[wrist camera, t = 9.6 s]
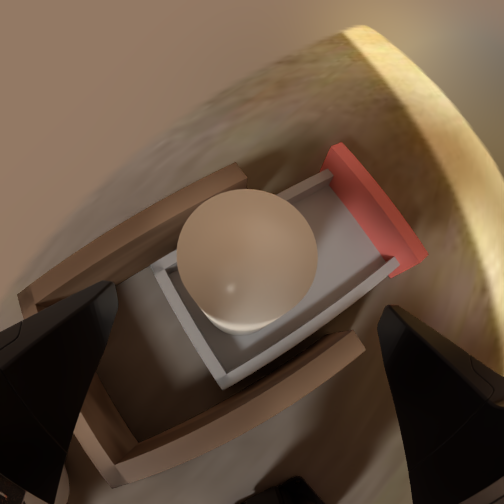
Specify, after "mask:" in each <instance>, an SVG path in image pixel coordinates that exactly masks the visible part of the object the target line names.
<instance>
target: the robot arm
mask: <svg viewBox="0 0 504 504" xmlns="http://www.w3.org/2000/svg"><path fill="white" fill-rule="evenodd" d="M117 310H118V299H117V293H116V288H115V284H114V283H113V282H112V281H106V280H102V281H99V282H97V283H95V284H93V285H91V286H89V287H87V288H85V289H83V290H81V291H79V292H77V293H75V294H73V295H71V296H69V297H67V298H65V299H63V300H61V301H59V302H57V303H55V304H53V305H51V306H49V307H47V308H45V309H43V310H41V311H40V312H38V313H36V314H34V315H32V316H30V317H28V318H26V319H24V320H23V321H20V322H19V323H17V324H15V325H13V326H11V327H9V328H7V329H5V330H3V331H1V332H0V504H26V503H25V501H24V499H25V495H26V492H28V493H30V494H32V495H33V496H35V497H37V498H39V499H40V500H42V501H44V502H46V503H48V504H54V503H55V499H56V495H57V490H58V486H59V482H60V478H61V474H62V470H63V467H64V463H65V459H66V456H67V453H66V452H68V448H69V445H70V442H71V439H72V435H73V432H74V429H75V426H76V423H77V420H78V417H79V414H80V411H81V409H82V406H83V403H84V400H85V397H86V395H87V392H88V389H89V387H90V384H91V382H92V379H93V377H94V374H95V371H96V369H97V367H98V364H99V362H100V359H101V357H102V354H103V352H104V350H105V347H106V344H107V341H108V338H109V335H110V331H111V328H112V325H113V322H114V319H115V316H116V313H117ZM377 330H378V336H379V341H380V346H381V351H382V357H383V362H384V367H385V371H386V375H387V378H388V382H389V386H390V389H391V393H392V397H393V401H394V405H395V409H396V413H397V417H398V422H399V426H400V431H401V435H402V440H403V445H404V450H405V455H406V461H407V466H408V471H409V479H410V485H411V492H412V500H413V504H504V377H503V376H501V375H499V374H498V373H496V372H495V371H493V370H492V369H490V368H488V367H487V366H486V365H484V364H483V363H481V362H480V361H478V360H477V359H475V358H474V357H473V356H471V355H469V354H468V353H467V352H466V351H464V350H463V349H461V348H460V347H458V346H457V345H456V344H454V343H453V342H451V341H450V340H448V339H447V338H445V337H444V336H443V335H441V334H440V333H438V332H437V331H435V330H434V329H432V328H431V327H429V326H428V325H426V324H425V323H423V322H422V321H421V320H419V319H418V318H416V317H415V316H413V315H412V314H410V313H409V312H407V311H406V310H404V309H403V308H401V307H399V306H398V305H387V306H386V307H385V308H384V311H383V313H382V316H381V318H380V320H379V323H378V327H377ZM296 481H300V482H299V483H297V484H296V483H295V482H296ZM242 504H325V503H324V502H323V501H322V500H321V499H320V498H319V497H318V495H317V494H316V493H315V492H314V491H313V490H312V489H311V487H310V486H309V485H308V484H307V483H306V482H305V480H304V479H303V478H302V477H300V476H295V477H293V478H291V479H289V480H288V481H286V482H284V483H282V484H280V485H279V486H277V487H272V488H270V489H268V490H266V491H264V492H262V493H260V494H258V495H256V496H254V497H251V498H249V499H247V500H246V502H244V503H242Z"/></svg>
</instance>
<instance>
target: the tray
mask: <svg viewBox="0 0 504 504" xmlns="http://www.w3.org/2000/svg"><path fill="white" fill-rule="evenodd" d="M276 196H278V197H280V198H282V199H284V200H286V201H287V202H289V203H290V204H291V205H293V206H294V207H295V208H296V209H297V210H298V211H299V212H300V213H301V214H302V215H303V217H304V218H305V219H306V221H307V222H308V224H309V226H310V228H311V230H312V232H313V234H314V237H315V240H316V245H317V251H318V263H317V270H316V274H315V277H314V280H313V283H312V285H311V287H310V289H309V290H308V292H307V294H306V295H305V296H304V297H303V299H302V300H301V301H300V302H299V303H298V304H297V305H296V306H295V307H294V308H292V309H291V310H290V311H288V312H287V313H285V314H284V315H282V316H281V317H279V318H278V319H276V320H275V321H273V322H272V323H270V324H269V325H267V326H266V327H264V328H263V329H261V330H259V331H258V332H256V333H253V334H250V335H244V336H236V335H231V334H227V333H225V332H223V331H221V330H219V329H218V328H217V327H215V326H214V325H213V324H212V322H211V321H210V320H209V319H208V318H207V316H206V315H205V314H204V312H203V311H202V310H201V309H200V307H199V306H198V305H197V303H196V302H195V301H194V299H193V298H192V297H191V295H190V294H189V292H188V291H187V289H186V288H185V286H184V284H183V282H182V280H181V277H180V274H179V271H178V266H177V249H176V250H175V251H173V252H171V253H169V254H168V255H166V256H164V257H163V258H161V259H159V260H157V261H156V262H154V263H152V264H151V265H150V267H151V269H152V271H153V273H154V275H155V277H156V279H157V281H158V283H159V285H160V287H161V289H162V291H163V292H164V294H165V296H166V298H167V300H168V302H169V303H170V305H171V307H172V309H173V311H174V312H175V314H176V316H177V318H178V320H179V321H180V323H181V325H182V326H183V328H184V330H185V332H186V333H187V335H188V337H189V338H190V340H191V342H192V343H193V345H194V347H195V348H196V350H197V352H198V353H199V355H200V356H201V358H202V360H203V361H204V363H205V364H206V366H207V368H208V369H209V371H210V372H211V374H212V375H213V377H214V378H215V380H216V381H217V383H218V385H219V386H220V388H221V389H222V391H223V390H225V389H226V388H228V387H230V386H232V385H233V384H235V383H237V382H238V381H240V380H242V379H243V378H245V377H247V376H248V375H250V374H252V373H253V372H255V371H257V370H258V369H260V368H261V367H263V366H265V365H266V364H268V363H269V362H271V361H272V360H274V359H276V358H277V357H279V356H280V355H282V354H283V353H285V352H286V351H288V350H289V349H291V348H292V347H294V346H295V345H297V344H298V343H300V342H301V341H303V340H304V339H305V338H307V337H308V336H310V335H311V334H313V333H314V332H315V331H317V330H318V329H320V328H321V327H322V326H324V325H325V324H327V323H328V322H329V321H331V320H332V319H333V318H335V317H336V316H337V315H339V314H340V313H341V312H343V311H344V310H345V309H347V308H348V307H349V306H351V305H352V304H353V303H354V302H356V301H357V300H358V299H360V298H361V297H362V296H363V295H365V294H366V293H367V292H368V291H370V290H371V289H372V288H373V287H375V286H376V285H377V284H378V283H379V282H381V281H382V280H383V279H384V278H385V277H387V276H389V277H390V278H392V277H394V276H396V275H398V274H400V273H402V272H404V271H406V270H408V269H409V268H411V267H413V266H415V265H417V264H419V263H420V262H421V261H422V260H423V259H424V258H425V257H427V256H428V255H429V254H428V252H427V251H426V249H425V248H424V246H423V245H422V243H421V242H420V240H419V239H418V237H417V236H416V234H415V233H414V232H413V230H412V229H411V227H410V226H409V224H408V223H407V222H406V220H405V219H404V217H403V216H402V215H401V213H400V212H399V211H398V209H397V208H396V207H395V205H394V204H393V203H392V201H391V200H390V199H389V197H388V196H387V195H386V194H385V192H384V191H383V190H382V188H381V187H380V186H379V185H378V183H377V182H376V181H375V180H374V179H373V177H372V176H371V175H370V174H369V173H368V171H367V170H366V169H365V168H364V167H363V165H362V164H361V163H360V162H359V161H358V160H357V159H356V157H355V156H354V155H353V154H352V153H351V152H350V151H349V150H348V148H347V147H346V146H345V145H344V144H343V143H342V142H340V143H338V144H336V145H333V146H331V147H330V149H329V152H328V154H327V156H326V158H325V161H324V163H323V165H322V167H321V169H320V172H319V173H318V174H316V175H314V176H312V177H310V178H308V179H306V180H304V181H302V182H300V183H298V184H296V185H294V186H292V187H290V188H288V189H286V190H284V191H282V192H280V193H278V194H277V195H276Z"/></svg>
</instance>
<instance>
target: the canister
mask: <svg viewBox="0 0 504 504" xmlns="http://www.w3.org/2000/svg"><path fill="white" fill-rule="evenodd" d="M317 263H318V251H317V245H316V240H315V237H314V234H313V232H312V230H311V228H310V226H309V224H308V222H307V221H306V219H305V218H304V217H303V215H302V214H301V213H300V212H299V211H298V210H297V209H296V208H295V207H294V206H293V205H291V204H290V203H289V202H287V201H286V200H284V199H282V198H280V197H278V196H276V195H274V194H271V193H268V192H265V191H260V190H255V189H237V190H231V191H227V192H224V193H220V194H218V195H216V196H214V197H212V198H210V199H208V200H207V201H205V202H204V203H202V204H201V205H200V206H199V207H198V208H197V209H196V210H195V211H194V212H193V213H192V214H191V215H190V216H189V218H188V219H187V221H186V222H185V224H184V226H183V228H182V230H181V233H180V236H179V239H178V243H177V266H178V271H179V274H180V277H181V280H182V282H183V284H184V286H185V288H186V289H187V291H188V292H189V294H190V295H191V297H192V298H193V299H194V301H195V302H196V303H197V305H198V306H199V307H200V309H201V310H202V311H203V312H204V314H205V315H206V316H207V318H208V319H209V320H210V321H211V322H212V324H213V325H214V326H215V327H217V328H218V329H219V330H221V331H223V332H225V333H227V334H231V335H236V336H244V335H250V334H253V333H256V332H258V331H259V330H261V329H263V328H264V327H266V326H267V325H269V324H270V323H272V322H273V321H275V320H276V319H278V318H279V317H281V316H282V315H284V314H285V313H287V312H288V311H290V310H291V309H292V308H294V307H295V306H296V305H297V304H298V303H299V302H300V301H301V300H302V299H303V297H304V296H305V295H306V294H307V292H308V290H309V289H310V287H311V285H312V283H313V280H314V277H315V274H316V270H317Z"/></svg>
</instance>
